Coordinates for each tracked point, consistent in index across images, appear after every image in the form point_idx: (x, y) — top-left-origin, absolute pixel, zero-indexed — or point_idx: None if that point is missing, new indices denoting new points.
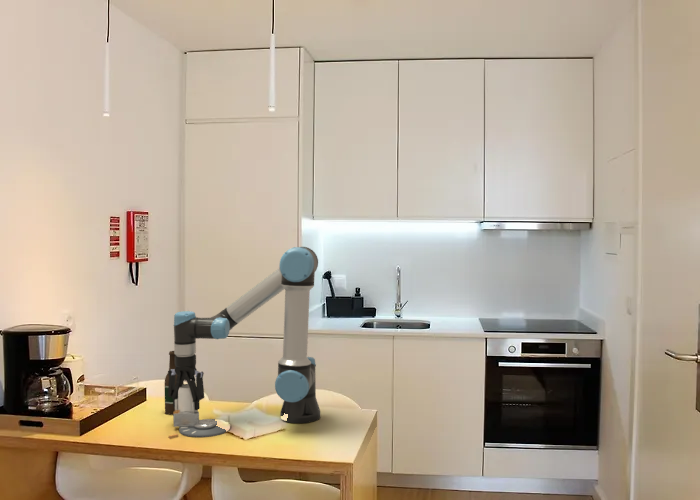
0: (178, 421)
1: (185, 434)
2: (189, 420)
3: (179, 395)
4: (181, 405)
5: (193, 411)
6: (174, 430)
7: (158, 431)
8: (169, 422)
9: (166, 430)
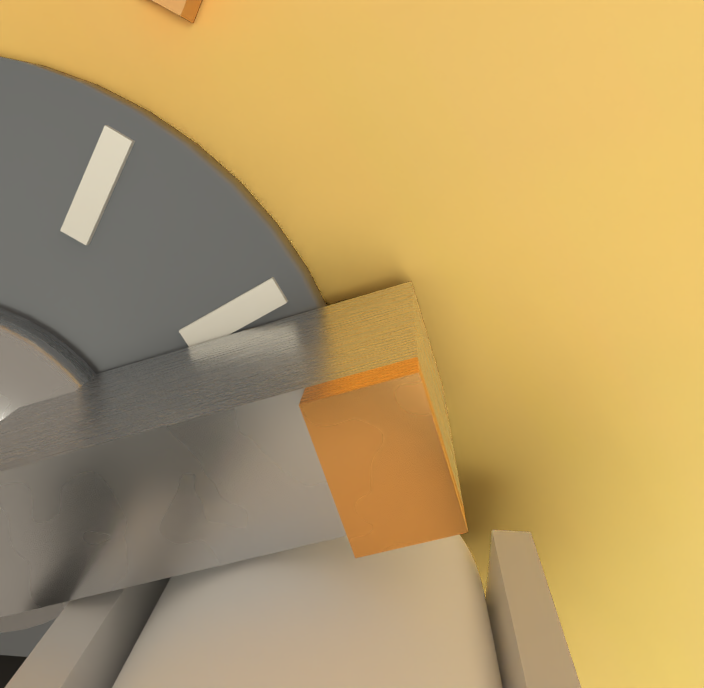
0: (315, 330)
1: (38, 65)
2: (114, 395)
3: None
4: (313, 673)
5: (66, 606)
6: (396, 272)
7: (632, 149)
8: (679, 573)
9: (524, 235)
